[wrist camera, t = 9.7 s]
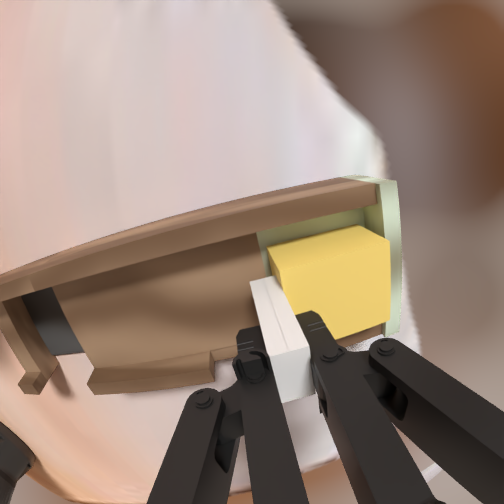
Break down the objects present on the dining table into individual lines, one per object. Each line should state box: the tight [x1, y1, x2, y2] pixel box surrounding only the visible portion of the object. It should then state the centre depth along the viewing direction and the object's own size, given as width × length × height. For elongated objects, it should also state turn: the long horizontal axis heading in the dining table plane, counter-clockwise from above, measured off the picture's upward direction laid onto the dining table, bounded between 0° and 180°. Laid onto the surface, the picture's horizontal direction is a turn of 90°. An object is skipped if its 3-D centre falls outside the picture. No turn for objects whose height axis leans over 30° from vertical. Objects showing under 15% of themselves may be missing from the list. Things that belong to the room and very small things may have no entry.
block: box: [266, 224, 391, 340], centre depth 16 cm, size 5×6×4 cm
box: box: [0, 175, 402, 395], centre depth 18 cm, size 10×33×6 cm, turn 103°
